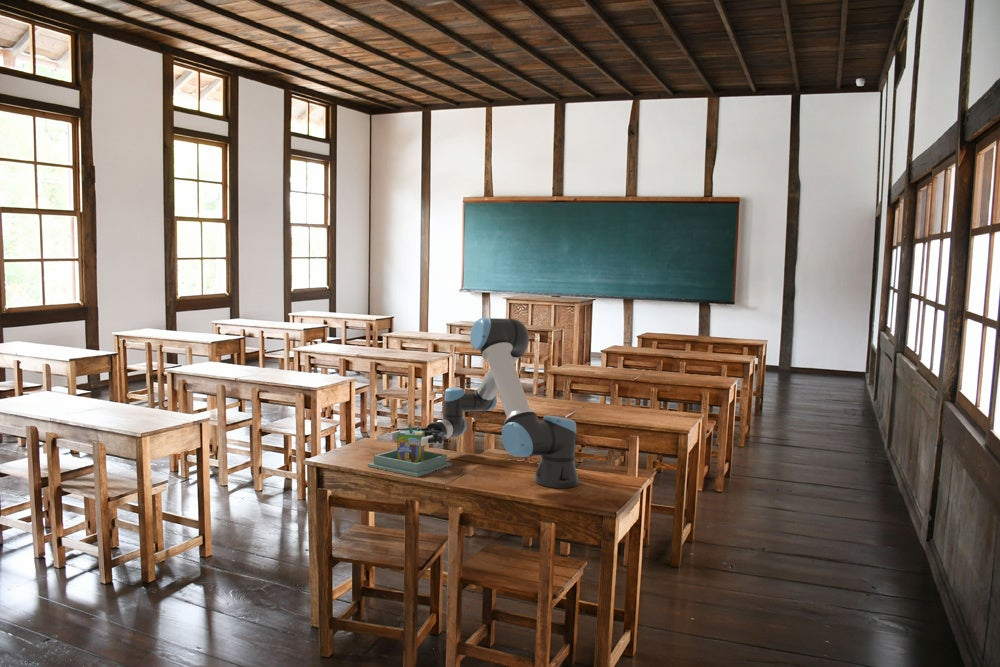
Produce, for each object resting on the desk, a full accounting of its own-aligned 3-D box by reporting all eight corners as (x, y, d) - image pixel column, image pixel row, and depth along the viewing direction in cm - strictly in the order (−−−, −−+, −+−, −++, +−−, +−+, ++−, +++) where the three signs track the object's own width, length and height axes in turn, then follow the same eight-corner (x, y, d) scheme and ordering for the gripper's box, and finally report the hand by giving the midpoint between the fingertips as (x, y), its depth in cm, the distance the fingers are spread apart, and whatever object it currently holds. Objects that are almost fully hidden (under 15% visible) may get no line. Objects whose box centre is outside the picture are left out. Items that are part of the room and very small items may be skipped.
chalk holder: (451, 465, 279) (452, 454, 279) (417, 477, 260) (417, 465, 260) (403, 456, 290) (404, 445, 289) (367, 466, 270) (367, 455, 270)
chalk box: (421, 467, 270) (423, 426, 269) (395, 465, 270) (397, 424, 270) (424, 461, 279) (426, 421, 279) (399, 459, 280) (401, 420, 279)
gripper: (465, 445, 284) (434, 454, 266) (412, 435, 296) (378, 444, 278) (466, 425, 284) (435, 433, 265) (413, 416, 296) (379, 424, 277)
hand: (406, 439), depth 271 cm, fingers open, 13 cm apart
